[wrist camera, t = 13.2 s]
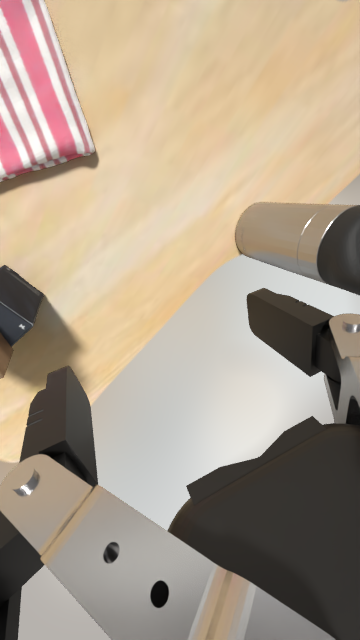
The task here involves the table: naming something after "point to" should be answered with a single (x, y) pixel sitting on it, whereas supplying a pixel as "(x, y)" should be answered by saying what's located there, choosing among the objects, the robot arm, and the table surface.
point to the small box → (17, 305)
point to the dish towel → (36, 94)
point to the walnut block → (4, 355)
